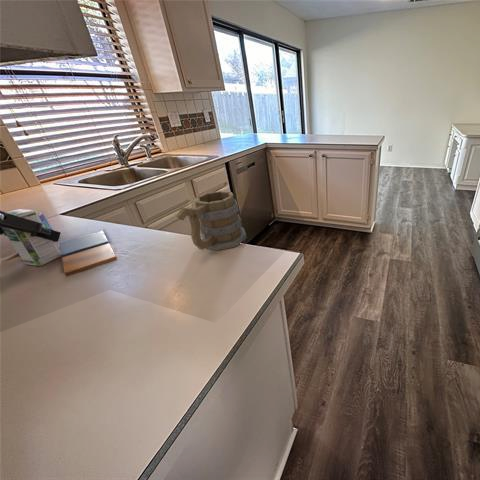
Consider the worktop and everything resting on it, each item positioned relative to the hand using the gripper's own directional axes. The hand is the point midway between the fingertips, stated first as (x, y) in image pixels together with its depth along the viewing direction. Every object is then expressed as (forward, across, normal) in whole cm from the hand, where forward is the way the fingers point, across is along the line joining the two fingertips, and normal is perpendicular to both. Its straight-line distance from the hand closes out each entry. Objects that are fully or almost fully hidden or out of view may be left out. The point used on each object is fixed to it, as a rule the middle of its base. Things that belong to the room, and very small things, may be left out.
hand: (46, 237), depth 75 cm
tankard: (+6, -47, +2) cm, 48 cm away
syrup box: (+1, 0, +6) cm, 7 cm away
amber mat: (+1, -14, +7) cm, 15 cm away
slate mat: (+8, -5, 0) cm, 9 cm away
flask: (+9, +9, -1) cm, 13 cm away
